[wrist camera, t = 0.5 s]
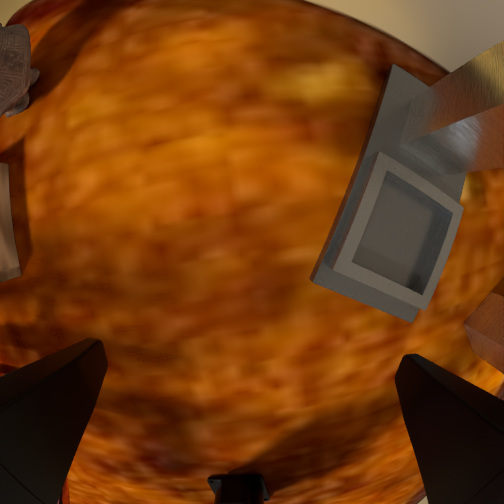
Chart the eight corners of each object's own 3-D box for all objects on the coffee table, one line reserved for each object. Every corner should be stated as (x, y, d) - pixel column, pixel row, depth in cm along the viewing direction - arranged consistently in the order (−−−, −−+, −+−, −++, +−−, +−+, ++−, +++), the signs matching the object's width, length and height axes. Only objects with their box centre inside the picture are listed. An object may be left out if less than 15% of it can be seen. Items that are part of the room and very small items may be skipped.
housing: (405, 318, 22) (531, 416, 6) (309, 278, 21) (418, 412, 5) (467, 126, 19) (587, 89, 3) (387, 68, 19) (492, -30, 3)
